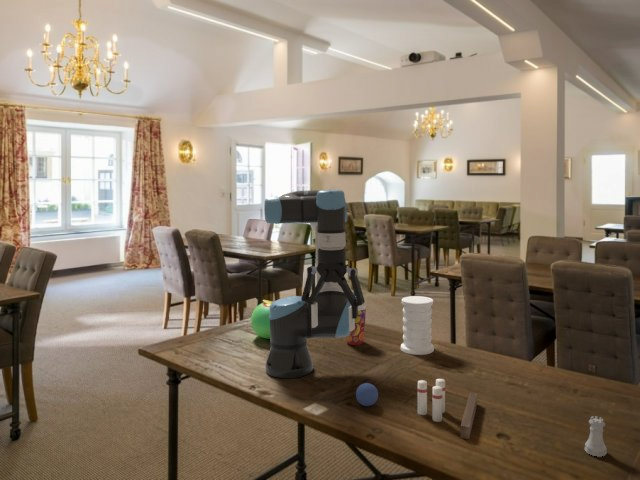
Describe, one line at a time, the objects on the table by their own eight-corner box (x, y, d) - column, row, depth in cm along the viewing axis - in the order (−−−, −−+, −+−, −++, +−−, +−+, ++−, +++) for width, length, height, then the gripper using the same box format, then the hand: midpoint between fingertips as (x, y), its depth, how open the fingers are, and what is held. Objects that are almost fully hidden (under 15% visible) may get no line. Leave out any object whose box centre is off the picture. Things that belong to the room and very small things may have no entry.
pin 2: (431, 421, 136) (431, 389, 135) (433, 416, 139) (433, 385, 138) (441, 422, 135) (441, 390, 134) (442, 418, 138) (443, 386, 137)
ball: (353, 408, 145) (352, 386, 144) (359, 399, 150) (359, 378, 149) (374, 411, 143) (374, 389, 142) (380, 402, 148) (380, 381, 147)
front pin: (416, 414, 140) (416, 383, 139) (418, 410, 143) (418, 379, 141) (426, 415, 139) (426, 384, 138) (427, 411, 142) (427, 380, 141)
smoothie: (342, 339, 202) (341, 287, 200) (364, 338, 203) (363, 287, 200) (345, 347, 194) (344, 292, 191) (368, 346, 195) (367, 292, 192)
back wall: (460, 437, 128) (460, 425, 127) (469, 403, 146) (469, 392, 146) (469, 439, 127) (469, 427, 127) (477, 404, 145) (477, 393, 145)
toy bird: (251, 331, 215) (250, 295, 213) (294, 329, 217) (293, 293, 215) (251, 346, 198) (249, 307, 196) (296, 343, 199) (295, 304, 197)
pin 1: (434, 412, 141) (434, 381, 140) (436, 408, 143) (436, 378, 142) (444, 414, 140) (444, 382, 139) (445, 410, 142) (446, 379, 141)
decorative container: (434, 344, 194) (434, 296, 192) (433, 355, 183) (433, 304, 181) (401, 343, 197) (401, 295, 195) (399, 353, 186) (399, 303, 183)
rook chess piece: (586, 445, 123) (587, 412, 122) (607, 451, 121) (609, 417, 119) (582, 454, 119) (584, 420, 118) (605, 460, 117) (607, 425, 116)
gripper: (287, 248, 145) (289, 328, 148) (368, 251, 137) (369, 336, 140) (298, 244, 152) (300, 321, 155) (376, 247, 144) (376, 327, 147)
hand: (333, 328), depth 147 cm, fingers open, 10 cm apart
